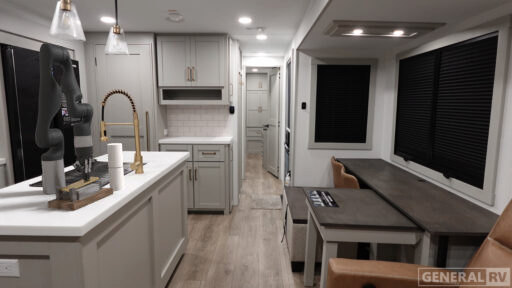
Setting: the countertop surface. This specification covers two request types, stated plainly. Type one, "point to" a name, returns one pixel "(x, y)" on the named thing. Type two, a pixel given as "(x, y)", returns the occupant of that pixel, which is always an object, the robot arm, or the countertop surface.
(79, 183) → the plate
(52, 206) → the stand
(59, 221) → the countertop surface
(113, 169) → the cylindrical container
